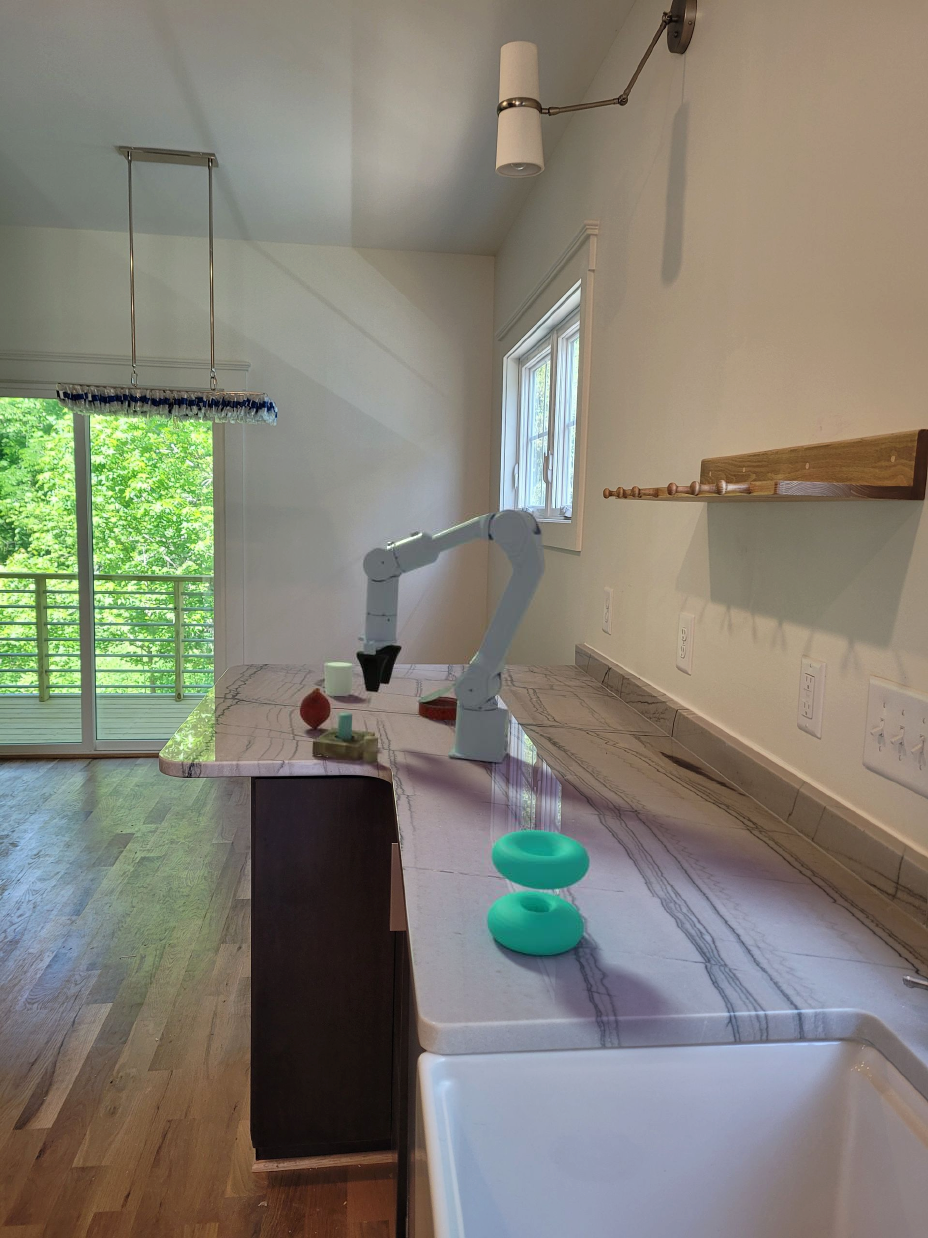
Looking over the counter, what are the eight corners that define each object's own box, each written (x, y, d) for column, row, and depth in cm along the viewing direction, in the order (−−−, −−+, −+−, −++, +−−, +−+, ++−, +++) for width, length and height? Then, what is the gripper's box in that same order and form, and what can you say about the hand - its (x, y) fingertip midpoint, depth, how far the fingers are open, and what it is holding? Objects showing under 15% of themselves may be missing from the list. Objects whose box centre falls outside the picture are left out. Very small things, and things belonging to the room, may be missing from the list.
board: (374, 746, 158) (374, 732, 157) (357, 761, 148) (357, 746, 148) (331, 741, 159) (332, 727, 159) (312, 755, 149) (312, 741, 149)
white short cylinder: (359, 694, 199) (361, 664, 199) (339, 698, 194) (341, 667, 193) (336, 689, 203) (337, 659, 202) (316, 693, 197) (317, 663, 196)
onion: (323, 734, 164) (325, 692, 163) (294, 730, 165) (295, 689, 164) (333, 726, 169) (335, 686, 168) (305, 723, 170) (307, 683, 169)
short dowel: (378, 759, 149) (380, 737, 149) (374, 763, 147) (376, 740, 147) (365, 758, 150) (366, 735, 149) (361, 762, 148) (362, 738, 147)
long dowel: (352, 749, 154) (354, 713, 154) (348, 753, 152) (350, 716, 151) (339, 748, 155) (340, 712, 154) (335, 752, 152) (336, 715, 152)
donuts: (599, 865, 85) (497, 861, 84) (591, 962, 86) (490, 959, 85) (580, 828, 95) (488, 824, 94) (573, 915, 96) (482, 912, 95)
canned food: (443, 743, 180) (431, 705, 176) (414, 727, 188) (401, 689, 183) (482, 713, 186) (472, 675, 181) (452, 699, 193) (441, 662, 188)
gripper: (371, 608, 167) (367, 678, 169) (348, 616, 153) (344, 693, 154) (407, 611, 166) (403, 681, 167) (387, 620, 151) (383, 696, 153)
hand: (377, 687), depth 161 cm, fingers open, 7 cm apart
